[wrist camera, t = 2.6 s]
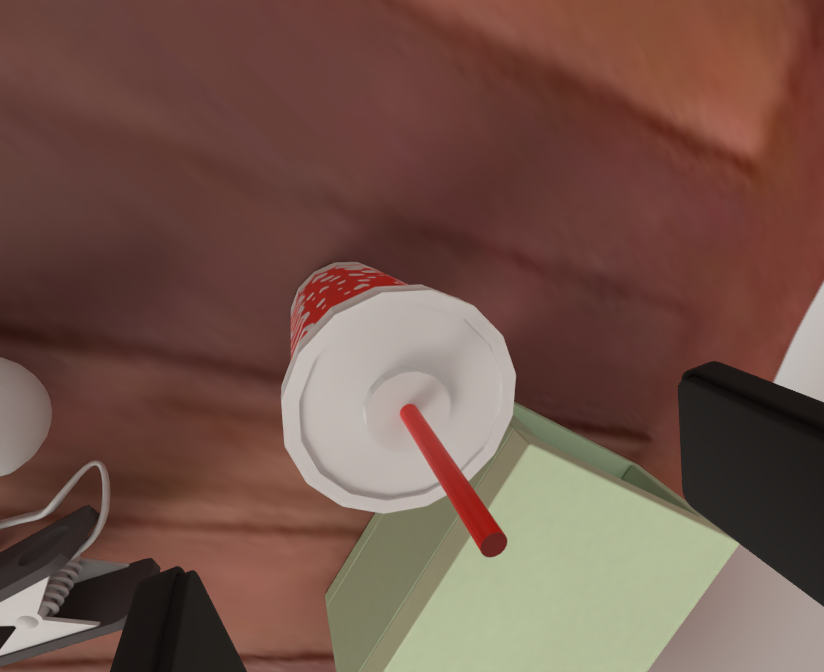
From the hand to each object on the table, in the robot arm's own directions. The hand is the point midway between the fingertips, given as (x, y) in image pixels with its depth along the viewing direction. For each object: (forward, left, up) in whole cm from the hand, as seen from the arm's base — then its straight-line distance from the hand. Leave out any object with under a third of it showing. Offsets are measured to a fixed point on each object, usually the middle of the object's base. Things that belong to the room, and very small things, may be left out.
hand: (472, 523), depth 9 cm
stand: (+6, +12, -13) cm, 19 cm away
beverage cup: (0, 0, -13) cm, 13 cm away
